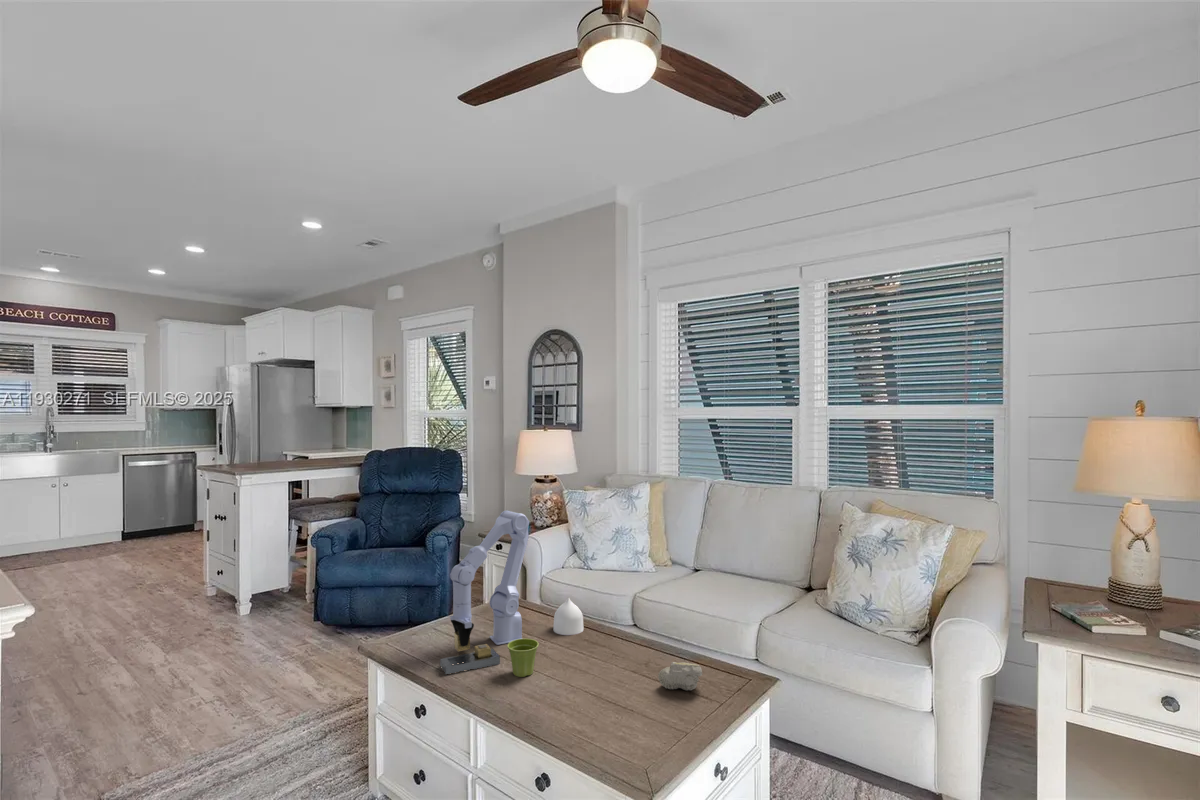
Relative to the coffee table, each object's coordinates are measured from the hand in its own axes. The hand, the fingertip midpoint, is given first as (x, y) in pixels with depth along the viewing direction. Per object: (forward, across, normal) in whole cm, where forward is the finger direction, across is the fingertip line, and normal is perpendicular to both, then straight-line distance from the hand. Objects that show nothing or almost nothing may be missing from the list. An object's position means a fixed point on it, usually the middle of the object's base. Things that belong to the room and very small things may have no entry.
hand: (462, 643), depth 198 cm
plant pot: (+3, +24, +12) cm, 27 cm away
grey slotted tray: (+3, +11, -1) cm, 11 cm away
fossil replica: (+4, +55, +48) cm, 73 cm away
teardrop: (+4, -2, +40) cm, 40 cm away
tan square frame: (+3, +11, +3) cm, 12 cm away
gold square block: (+2, 0, 0) cm, 2 cm away
